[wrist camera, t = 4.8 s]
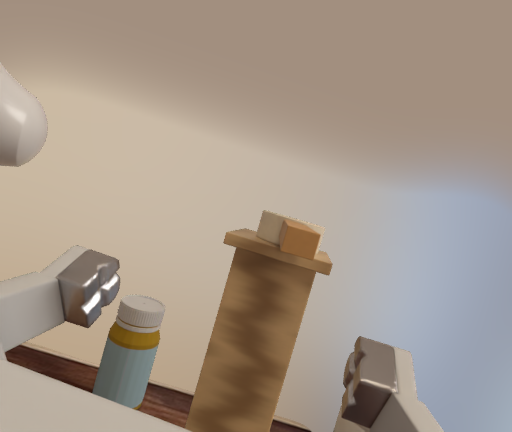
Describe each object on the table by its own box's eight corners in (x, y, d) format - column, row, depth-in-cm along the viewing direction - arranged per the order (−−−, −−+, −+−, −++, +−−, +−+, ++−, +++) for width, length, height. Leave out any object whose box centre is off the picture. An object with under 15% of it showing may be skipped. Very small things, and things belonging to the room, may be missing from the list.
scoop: (244, 253, 21) (255, 212, 21) (257, 233, 37) (264, 209, 37) (343, 282, 21) (355, 240, 21) (314, 249, 37) (321, 226, 37)
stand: (131, 566, 31) (226, 231, 30) (170, 488, 40) (244, 228, 39) (229, 610, 30) (332, 263, 29) (247, 520, 39) (326, 252, 38)
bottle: (86, 417, 47) (117, 307, 47) (92, 386, 54) (119, 290, 53) (141, 420, 50) (170, 316, 49) (140, 390, 56) (166, 298, 56)
